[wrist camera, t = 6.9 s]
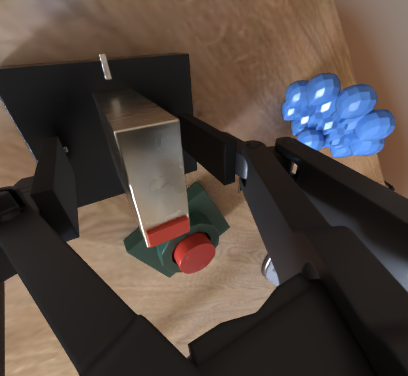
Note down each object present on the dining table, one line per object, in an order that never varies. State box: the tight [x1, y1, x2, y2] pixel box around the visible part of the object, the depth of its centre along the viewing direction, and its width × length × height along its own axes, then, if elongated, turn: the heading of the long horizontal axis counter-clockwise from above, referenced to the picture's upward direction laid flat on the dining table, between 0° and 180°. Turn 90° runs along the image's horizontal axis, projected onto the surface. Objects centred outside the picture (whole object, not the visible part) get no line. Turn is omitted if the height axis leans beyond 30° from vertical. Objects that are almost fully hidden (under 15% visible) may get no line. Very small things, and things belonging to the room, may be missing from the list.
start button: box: [173, 232, 215, 274], centre depth 24 cm, size 5×5×2 cm
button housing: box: [123, 182, 230, 278], centre depth 26 cm, size 11×9×4 cm
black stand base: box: [0, 53, 197, 208], centre depth 17 cm, size 12×11×3 cm
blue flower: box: [282, 73, 396, 157], centre depth 22 cm, size 12×7×12 cm, turn 43°
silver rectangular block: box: [93, 89, 190, 248], centre depth 13 cm, size 6×3×9 cm, turn 2°
